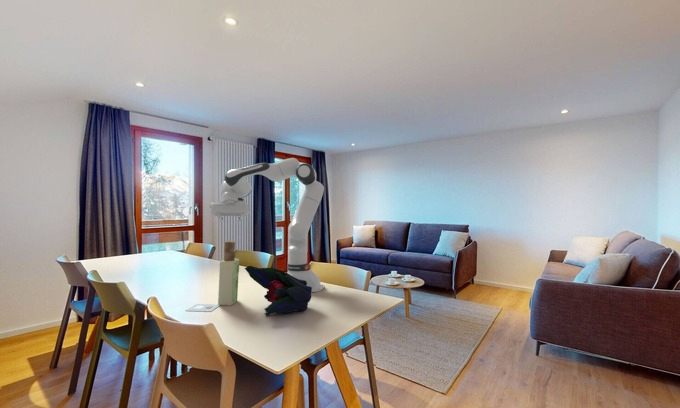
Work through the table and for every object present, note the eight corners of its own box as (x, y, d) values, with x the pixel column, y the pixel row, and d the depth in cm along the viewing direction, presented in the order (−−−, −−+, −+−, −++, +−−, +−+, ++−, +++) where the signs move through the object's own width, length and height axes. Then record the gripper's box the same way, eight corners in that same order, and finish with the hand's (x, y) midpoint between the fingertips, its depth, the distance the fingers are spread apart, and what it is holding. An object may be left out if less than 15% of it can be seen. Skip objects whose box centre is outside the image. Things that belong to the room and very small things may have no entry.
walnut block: (233, 258, 148) (234, 240, 148) (234, 260, 144) (235, 242, 144) (223, 259, 146) (224, 240, 146) (224, 260, 142) (225, 242, 142)
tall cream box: (233, 305, 141) (234, 261, 141) (217, 305, 141) (219, 261, 141) (239, 300, 149) (240, 258, 149) (224, 299, 149) (226, 258, 149)
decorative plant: (303, 335, 130) (233, 327, 120) (296, 296, 153) (237, 286, 142) (320, 298, 125) (248, 286, 114) (310, 263, 148) (250, 250, 137)
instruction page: (220, 305, 142) (220, 304, 142) (211, 311, 133) (211, 311, 133) (196, 304, 143) (196, 303, 143) (185, 310, 134) (185, 310, 134)
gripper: (209, 198, 165) (210, 216, 156) (247, 199, 173) (250, 216, 165) (209, 206, 169) (210, 224, 160) (246, 206, 177) (249, 223, 169)
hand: (230, 220), depth 162 cm, fingers open, 8 cm apart
